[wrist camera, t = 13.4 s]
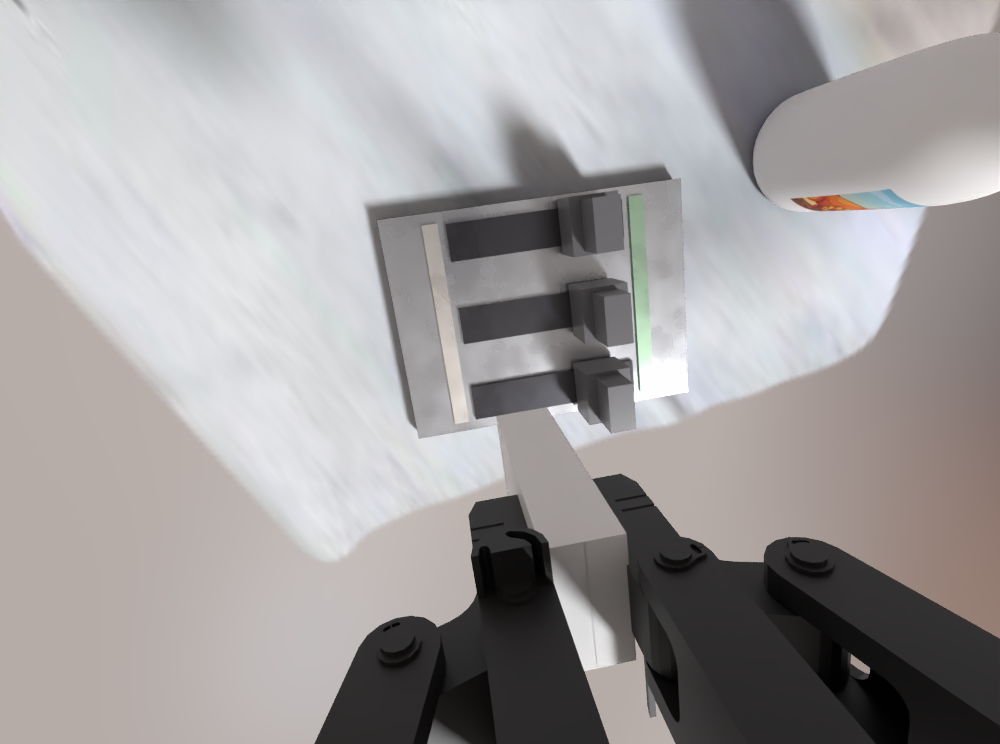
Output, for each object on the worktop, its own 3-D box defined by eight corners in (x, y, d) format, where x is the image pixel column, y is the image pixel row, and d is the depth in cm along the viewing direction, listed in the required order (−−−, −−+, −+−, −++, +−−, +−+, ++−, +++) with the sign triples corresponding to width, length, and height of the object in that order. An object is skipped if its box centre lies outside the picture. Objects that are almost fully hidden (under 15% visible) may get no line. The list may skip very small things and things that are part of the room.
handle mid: (568, 284, 35) (591, 294, 30) (611, 277, 36) (642, 286, 31) (573, 335, 36) (596, 353, 31) (615, 328, 37) (645, 345, 32)
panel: (378, 220, 34) (376, 220, 33) (672, 179, 36) (682, 177, 35) (419, 432, 39) (418, 440, 37) (681, 387, 40) (690, 393, 39)
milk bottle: (728, 184, 37) (1053, 139, 18) (784, 71, 35) (1207, -112, 16) (815, 229, 38) (1199, 235, 19) (872, 124, 37) (1351, 14, 18)
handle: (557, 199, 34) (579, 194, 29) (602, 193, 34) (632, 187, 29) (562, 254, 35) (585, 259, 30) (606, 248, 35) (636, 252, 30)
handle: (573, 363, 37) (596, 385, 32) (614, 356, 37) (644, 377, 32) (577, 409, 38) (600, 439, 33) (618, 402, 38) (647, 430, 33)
